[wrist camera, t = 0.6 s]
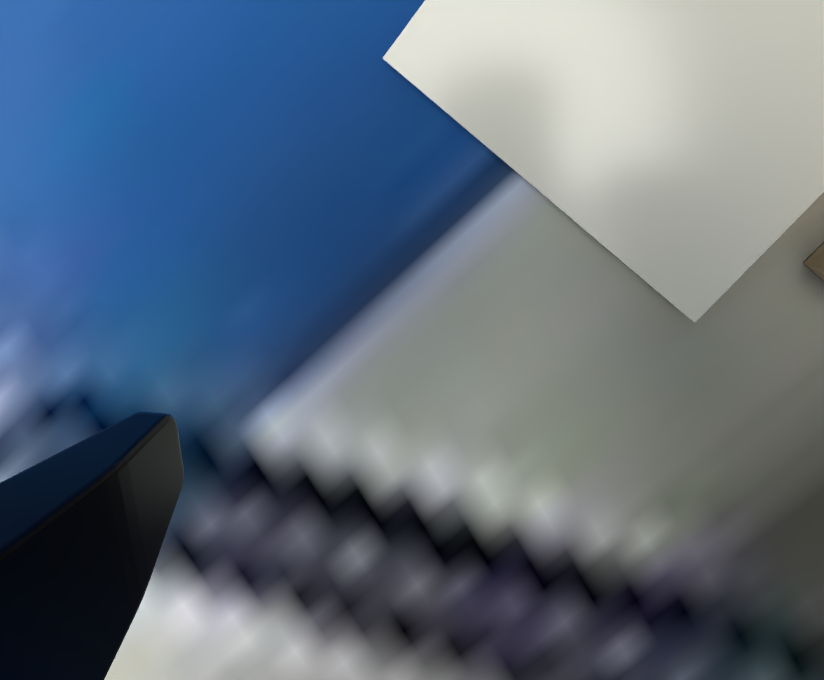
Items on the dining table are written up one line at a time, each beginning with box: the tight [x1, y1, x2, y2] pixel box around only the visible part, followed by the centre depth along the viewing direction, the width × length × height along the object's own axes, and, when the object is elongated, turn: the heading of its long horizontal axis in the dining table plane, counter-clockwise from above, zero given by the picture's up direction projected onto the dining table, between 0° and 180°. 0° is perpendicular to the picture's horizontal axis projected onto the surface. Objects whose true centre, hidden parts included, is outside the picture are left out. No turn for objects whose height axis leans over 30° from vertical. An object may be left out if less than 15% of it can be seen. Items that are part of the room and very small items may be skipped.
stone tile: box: [383, 0, 824, 323], centre depth 20 cm, size 11×11×1 cm
